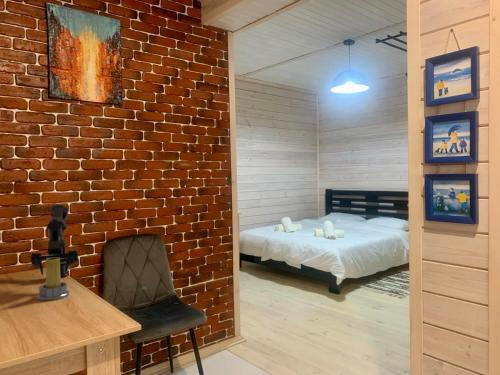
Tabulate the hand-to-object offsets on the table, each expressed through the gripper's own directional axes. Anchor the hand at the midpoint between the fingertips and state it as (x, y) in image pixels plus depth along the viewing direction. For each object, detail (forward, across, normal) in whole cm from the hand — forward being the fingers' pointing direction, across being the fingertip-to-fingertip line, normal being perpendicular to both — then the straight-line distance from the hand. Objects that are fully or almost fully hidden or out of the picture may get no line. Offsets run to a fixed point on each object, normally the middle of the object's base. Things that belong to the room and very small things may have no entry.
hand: (54, 273), depth 166 cm
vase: (+9, 0, 0) cm, 9 cm away
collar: (+10, 0, +1) cm, 10 cm away
